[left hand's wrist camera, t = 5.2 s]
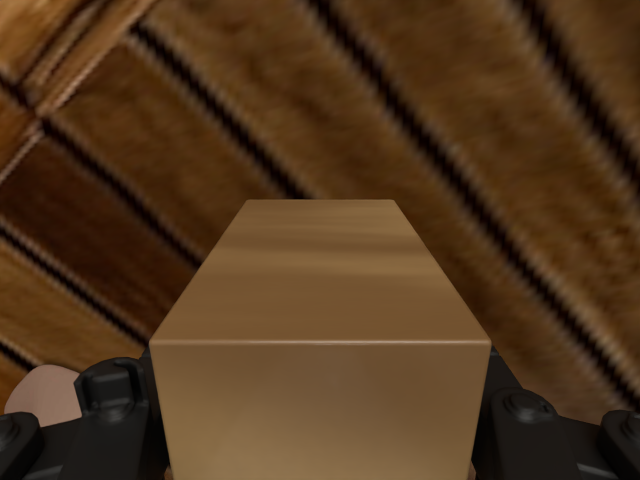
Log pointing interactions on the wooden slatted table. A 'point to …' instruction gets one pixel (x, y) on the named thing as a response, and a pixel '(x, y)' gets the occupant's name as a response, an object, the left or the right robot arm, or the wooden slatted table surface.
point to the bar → (320, 352)
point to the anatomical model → (47, 395)
